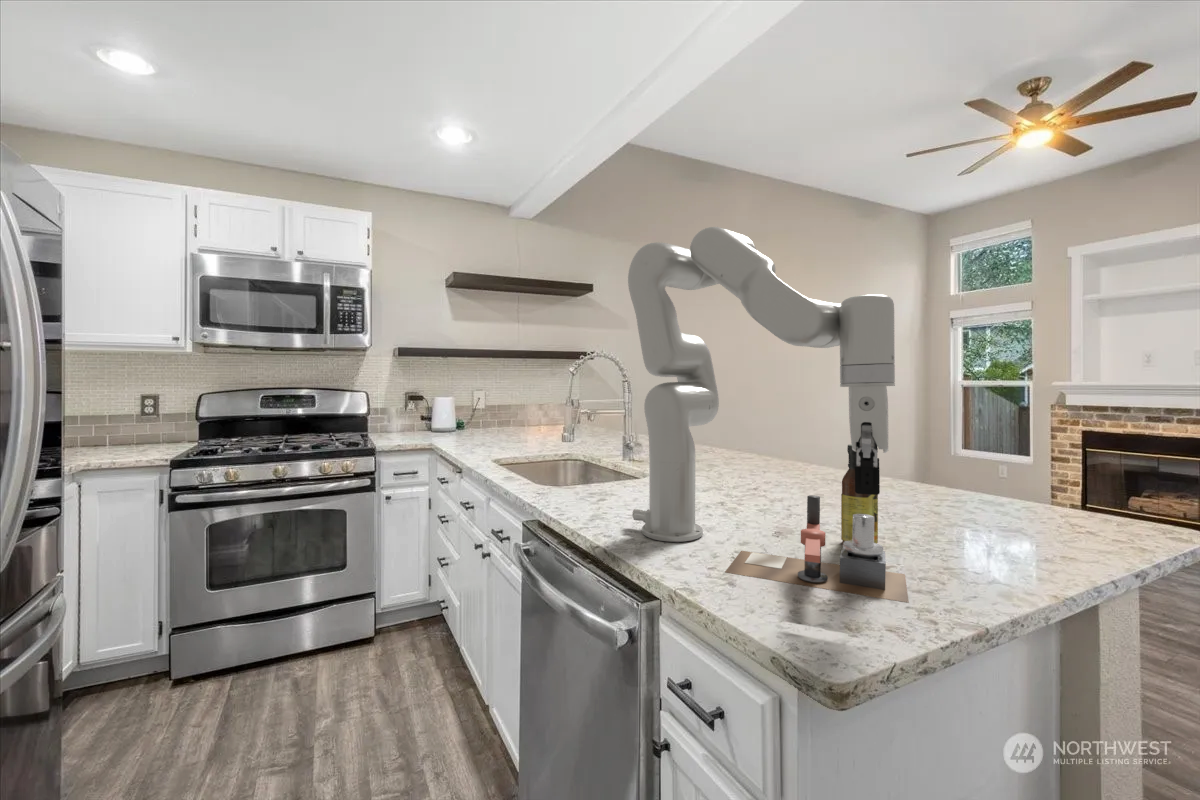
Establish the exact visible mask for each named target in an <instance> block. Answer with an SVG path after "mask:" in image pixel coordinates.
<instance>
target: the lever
mask: <svg viewBox="0 0 1200 800" xmlns="http://www.w3.org/2000/svg"><path fill="white" fill-rule="evenodd" d="M806 497H807V499H806V501H807V502H806V505H807V507H806V528H803V529H801V530H800V543H801V544H802V545H804V560H805V561H807V562H816V563H820V547H821V548H823V547H825V546H826V532H825V531H824V530H821V527H820V526H821V523H820V522H821V521H820V520H821V518H820V517H821V514H820V513H821V497H820V496H818V495H810V494H809V495H807V496H806Z"/></svg>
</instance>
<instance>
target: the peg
mask: <svg viewBox="0 0 1200 800" xmlns="http://www.w3.org/2000/svg"><path fill="white" fill-rule="evenodd" d="M842 546H843V549H844V550H845V551H846V552H849V553H851V554H852V557H856V558H863V559H871V560H874V557H875V556H881V555H883V551H884V547H883V546H882V545H881V544H879V543H874V516H871V515H867V514H854V515H853V537H852V540H848V541H845V542H844V543H843V544H842Z"/></svg>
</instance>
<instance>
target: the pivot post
mask: <svg viewBox="0 0 1200 800" xmlns="http://www.w3.org/2000/svg"><path fill="white" fill-rule="evenodd" d="M821 562H822V547H820V563H816V562H807V561H804V570H803V571H799V572H798V578H799V579H800V580H802V581H804V582H807V583H813V584H822V583H826V582H827V581H828V577H827V575H826V574H824V573H821Z"/></svg>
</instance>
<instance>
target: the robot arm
mask: <svg viewBox="0 0 1200 800" xmlns="http://www.w3.org/2000/svg"><path fill="white" fill-rule="evenodd" d="M689 246H690V247H689V248H687V247H683V246H680V245H677V244H672V243H668V242H662V241H661V242H659V241H658V242H651V243H647V244H645V245H643V246H641V247H640V248H639V249H638V250H637V252H636V253H635V254H634V256H633V258H632V260H631V262H630V265H629V268H628V274H627V275H628V276H627V285H628V291H629V292H628V293H629V295H630V300H631V302H632V305H633V311H634V314H635V317H636V325H637V331H638V336H639V341H640V348H641V354H642V359H643V360H642V361H643V363H644V366H645V369H646V371H647V372H648V373H649V374H651V375H652V376H655V377H659V378H676V380H677V381H676V382H675V381H671V382H663V383H659V384H657V385H655V386H654V387H652V388H651V389H650V390H649V392H648V393H647V394H646V396H645V399H644V405H643V406H644V415H645V422H646V426H647V432H648V435H647V436H648V449H649V450H648V453H649V454H648V460H649V478H648V479H649V484H648V485H649V488H648V489H649V494H648V495H649V498H648V499H649V503H648V504H649V506H648V507H649V509H648V508H647V510H643V509H636V508H634V509H633V510H632V518H633V520H634V521H643V523H644V524H643V525H642V526H641V527H642V528H641V533H642V535H644V536H645V537H647V538H649V539H651V540H656V541H661V542H671V543H678V542H681V543H682V542H683V543H684V542H689V541H695V540H698V539H700V538H701V537H702V536H703V535H704V528H703V527H702V526H701V525H699V524H696V445H695V441H694V438H693V435H692V433H691V430H690V427H697V426H703V425H707V424H708V423H711V422H712V421H713V420H714V419H715V417H716V416H717V413H719V412H718V411H719V407H720V405H719V404H720V398H719V393H718V392H719V391H718V387H717V382H716V376H715V371H714V364H713V361H712V356H711V352H710V349H709V347H708V345H707V344H706V342H705V341H704V340H703V339H702V338H701V337H700V336H698V335H696V334H692V333H686V332H682V330H681V329H680V326H679V321H678V316H677V315H678V314H677V311H676V307H675V305H674V303H673V300H672V299H671V297H670V295H669V294H668V293H667V290H666V287H669V288H673V289H680V290H685V291H695V290H700V289H705V288H707V287H709V288H710V287H713V286H717V285H720V286H722V287H724V289H726V290H727V291H729V293H731V294H732V295H734V296H735V297H736V298H738V300H740V303H741V305H742V306H743V308H744V309H745V310H746V313H748V315H749V316H750V317H751V318H752V319H753V320H754V321H756V322H757V323H758V324H759V325H761V326H762V327H763V328H765V329H766V330H767V331H769V333H771V334H772V335H774V336H775V337H777V338H778V339H779V340H781V341H782V342H783V343H786V344H789V345H791V346H795V347H805V348H806V347H807V348H808V347H809V348H815V349H817V348H818V349H826V348H827V349H828V348H834V347H838V346H839V387H840V388H848V413H849V414H848V420H849V434H850V444H852V450H854V451H855V452H857V462H856V463H857V466H855V492H856V493H857V494H870V495H878V496H879V495H880V489H881V488H880V487H881V485H880V480H881V479H880V478H881V477H880V458H879V457H878V452H879V450H882V451H883V452H882V453H884V454H886V453H887V452H889V399H888V387H894V386H896V383H895V382H896V379H895V376H896V373H895V372H896V371H895V370H896V368H895V367H896V365H895V302H894V300H893V299H892V297H891V296H889V295H886V294H879V293H878V294H863V295H861V294H860V295H855V296H851V297H848V298H845V299H844V300H843V301H842V302H839V303H837V302H829V301H823V300H820V299H813V298H809V297H807V296H805V295H803V294H801V293H800V292H799V291H797V290H795V289H794V288H792V287H791V286H790V285H788V284H787V283H785V282H784V281H783V280H782V279H780V278H779V277H777V275H776V264H775V263H774V261H773V260H772V259H771V258H769V257H768V256H766V255H765V254H763V253H761V252H760V251H759V250H758V249H756V245H755V244H754V242H753V241H752V239H750V238H749V237H748V236H746V235H745V234H743V233H742V234H741V233H739V232H735V231H732V230H730V229H727V228H722V227H719V226H710V227H705V228H703V229H701V230H700V231H698V232H697V233H696V234H695V235H694V236H693V238H692V239H691V242H690V245H689Z"/></svg>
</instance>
